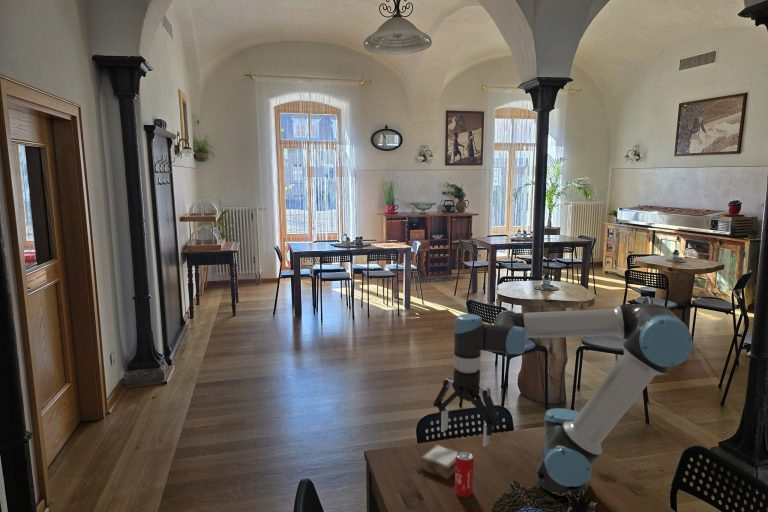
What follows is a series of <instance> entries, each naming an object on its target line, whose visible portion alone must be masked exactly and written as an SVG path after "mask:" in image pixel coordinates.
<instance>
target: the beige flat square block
mask: <svg viewBox="0 0 768 512" xmlns="http://www.w3.org/2000/svg"><path fill="white" fill-rule="evenodd" d="M459 452H460V451H457V450H456V449H455V450H454V449H452V448H449V447H446V446H443V445H441V444H438V443H436V444H435V445H434V446H432V447H431V448H429V450H427V451H426V452H425V453H423V455H422V456H421V457H420V469H421V470H423V471H426V472H429V473H431V474H433V475H436V476H439V477H440V478H443V479H446V480H449V479H450V478H451V477H452V476H453V475H455V472H456V456H457V453H459Z"/></svg>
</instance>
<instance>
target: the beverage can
mask: <svg viewBox="0 0 768 512" xmlns="http://www.w3.org/2000/svg"><path fill="white" fill-rule="evenodd" d="M458 452H459V453H457V456H456V472H455V473H454V475H455V480H454V482H455V483H454V490H455V492H456V494H457V496H459V497H461V498H469V497H471V495H472V493H473V491H474V488H473V487H474V461H475V460H474V456H473V454H472V453H471V452H469V451H463V450H462V451H458Z"/></svg>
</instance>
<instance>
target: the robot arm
mask: <svg viewBox="0 0 768 512" xmlns="http://www.w3.org/2000/svg"><path fill="white" fill-rule="evenodd" d="M454 322H455V323H454V331H453V332H454V333H453V334H454V336H453V338H454V341H453V342H454V343H453V344H454V345H453V347H454V348H453V349H454V350H453V373H452V374H453V375H452V376H453V377H452V378H453V380H452V379H451V377H447V378H446V379H444V380H443V383H442V387H441V389H440V391H439V393H438V394H437V396H436V398H435V400H434V402H433V404H432V405H433V407H436V408H438V419H439V420H440V421H441V423H440V424H441V425H440V432H441V433H444V432H445V431H447V430H448V429H449V425H448V424H449V408H448V405H449V404H451V403H452V402H453V401H454V400H455V399H456V398H457V397H458V398H459V400H465V401H467V402H470V403H471V404H472V405H473V406H475V409H476V410H477V412H478V413H479V415H480V416H481V418H482V419H483V422H484V424H483V431H482V433H483V436H482V447H487V446H488V445H489V444H490V440H491V439H490V437H491V435H493V434H494V433H493V432H494V426H496V425H497V424H499V423H500V422H501V420H500V417H499V413H498V412H497V409H496V405H495V404H494V401H493V399H492V397H491V396H492V395H491V389H490V388H489V387H486V388H481V387H480V384H481V383H480V381H481V370H480V369H481V358H482V357H481V356H482V355H481V354H482V353H481V352H482V351H484V352H492V353H501V354H502V353H503V354H509V355H522V354H524V353H525V351H526V350H525V349H526V339H532V338H533V339H534V338H535V339H536V338H537V339H538V338H539V339H540V338H542V339H544V338H545V339H546V338H577V337H578V338H579V337H582V338H585V337H586V338H587V337H618V338H619V339H621V340H625V341H624V342H623V344H622V350H623V355H622V356H621V358H620V359H619V360H618V361H617V363H616V364H615V365H614V367H613V368H612V369H611V371H610V372H609V373H608V375H607V376H606V377H605V378H604V380H603V381H602V382H601V384H600V385H599V386H598V388H597V389H596V390H595V392H594V393H593V394H592V395H591V397H589V399H588V401H587V402H586V403H585V405H584V406H583V407H582V408H581V409H580V411H576V410H572V409H568V408H558V407H557V408H556V407H555V408H550V409H548V410H547V411H546V412H545V413H544V414H545V415H544V418H543V420H544V426H543V427H544V429H543V444H542V445H543V446H542V447H543V448H542V456H541V459H540V461H539V463H538V465H537V468H536V471H535V481H536V484H537V485H538V487H540V488H541V487H542V488H545V489H549V490H552V491H554V492H559V493H565V492H567V491H571V492H572V493H573V494H574V495H575V496H578V494H579V492H580V490H581V489H583V490H584V491H585V492H586V493H587V492H588V488H589V487H588V486H589V479H590V478H591V475H592V472H593V471H592V470H593V469H592V465H593V464H594V463H595V462H596V461H597V459H598V458H599V456H600V455H601V454H602V452H603V448H602V443H603V441H604V440H605V438H606V437H607V436H608V435H609V434H610V432H611V431H612V429H613V428H614V427H615V426H616V425H617V423H618V422H619V421H620V420H621V419H622V417H624V415H625V413H626V412H627V411H628V410H629V408H630V407H631V406H632V405H633V404H634V402H635V401H636V400H637V398H638V397H639V396H640V395H641V393H643V391H644V390H645V388H646V387H647V386H648V385H649V384H650V382H651V381H652V380H653V378H654V377H655V376H662V375H665V374H666V373H667V372H668V371H669V369H671V367H673V366H679V365H680V364H682V363H684V362H685V361H686V360H687V359H688V358H689V356H690V354H691V353H692V350H693V337H692V333H691V332H690V330H689V328H688V326H687V324H685V322H684V321H682V319H680V317H678V316H677V315H676V314H675V313H674V311H673V310H671V309H670V308H668V307H667V306H664V305H661V304H657V303H655V304H654V303H635V304H619V305H617V306H616V307H615V308H607V309H605V308H604V309H585V310H583V309H581V310H563V311H562V310H561V311H559V310H558V311H543V312H541V311H540V312H539V311H538V312H537V311H536V312H533V311H532V312H515V311H514V310H513V311H512V310H511V309H510V310H509V309H507V310H503V311H501V312H500V311H499V313H498V314H497V316H495V318H494V321H493V324H488V323H483V319H482V317H481V315H477V314H475V313H462V314H459V315H457V317H456V318H455V321H454ZM451 387H452V388H453V390H454V392H453V393H451V395H450V396H448V398H447V399H445V401H443V399H444V398H445V397H446V394H447V392H448V391H449V389H450V388H451ZM480 395H481V396H480ZM442 401H443V402H442ZM542 488H541V489H542Z"/></svg>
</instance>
